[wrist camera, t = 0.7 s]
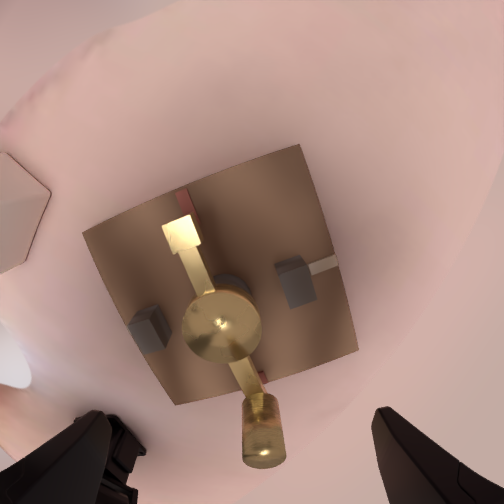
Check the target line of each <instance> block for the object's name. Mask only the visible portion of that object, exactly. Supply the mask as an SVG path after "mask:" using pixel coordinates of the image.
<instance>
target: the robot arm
mask: <svg viewBox="0 0 504 504" xmlns="http://www.w3.org/2000/svg"><path fill="white" fill-rule="evenodd" d="M371 429H372V434H373V440H374V445H375V450H376V456H377V462H378V467H379V470H380V473H381V477H382V480H383V483H384V487H385V490H386V493H387V497H388V500H389V503H390V504H504V488H503V487H500V486H499V485H497V484H495V483H493V482H491V481H489V480H487V479H486V478H484V477H482V476H480V475H479V474H477V473H476V472H474V471H473V470H471V469H470V468H468V467H467V466H466V465H465V464H463V463H462V462H460V463H459V460H458V459H456V458H455V457H454V456H452V455H451V454H450V453H448V452H447V451H445V450H444V449H443V448H442V447H440V446H439V445H438V444H437V443H435V442H434V441H433V440H431V439H430V438H429V437H427V436H426V435H425V434H424V433H422V432H421V431H420V430H418V429H417V428H416V427H415V426H413V425H412V424H411V423H410V422H408V421H407V420H406V419H404V418H403V417H402V416H401V415H399V414H398V413H397V412H396V411H394V410H393V409H392V408H391V407H388V406H386V407H381V408H378V409H377V410H376V411H375V415H374V418H373V421H372V426H371ZM145 455H146V450H145V449H144V448H143V447H142V446H141V445H140V443H139V442H138V441H137V440H136V439H135V438H134V437H133V436H132V434H131V433H130V432H129V431H128V430H127V428H126V427H125V426H124V425H123V424H122V422H121V421H120V420H119V419H118V418H117V417H116V416H115V415H107V416H105V414H104V413H103V412H102V411H98V410H91V411H90V412H88V413H87V414H85V415H84V416H83V417H81V418H76V419H75V420H74V423H73V424H71V425H70V426H69V427H67V428H66V429H64V430H63V431H62V432H60V433H59V434H57V435H56V436H54V437H53V438H52V439H50V440H49V441H47V442H46V443H44V444H43V445H41V446H40V447H39V448H37V449H36V450H34V451H33V452H31V453H30V454H28V455H27V456H25V458H22V459H21V460H19V461H18V462H16V463H15V464H13V465H12V466H10V467H8V468H7V469H5V470H3V471H1V472H0V504H137V499H138V490H137V489H135V488H131V487H129V486H127V485H126V482H127V479H128V476H129V473H132V471H133V468H134V464H135V461H136V458H137V456H145Z"/></svg>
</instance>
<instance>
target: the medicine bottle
mask: <svg viewBox="0 0 504 504" xmlns="http://www.w3.org/2000/svg"><path fill="white" fill-rule="evenodd" d="M49 198H50V192H49V190H47V189H46V188H45V187H44V186H43V185H42V184H40V183H39V182H38V181H37V180H36V179H35V178H34V177H32V176H31V175H30V174H29V173H28V172H27V171H26V170H25V169H23V168H22V167H21V166H20V165H19V164H18V163H17V162H16V161H15V160H14V159H12V158H11V157H10V156H9V155H8V154H7V153H0V274H2V273H4V272H6V271H8V270H10V269H12V268H14V267H16V266H18V265H20V264H22V263H24V262H25V260H26V257H27V254H28V251H29V248H30V245H31V242H32V240H33V237H34V234H35V232H36V229H37V226H38V224H39V221H40V219H41V216H42V214H43V212H44V209H45V207H46V205H47V202H48V200H49Z"/></svg>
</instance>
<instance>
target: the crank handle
mask: <svg viewBox="0 0 504 504" xmlns="http://www.w3.org/2000/svg"><path fill="white" fill-rule="evenodd" d="M162 229H163V231H164V234H165V236H166V239H167V241H168V243H169V246H170V248H171V250H172V253H173V254H176V253H179V255H180V258H181V260H182V262H183V265H184V267H185V269H186V271H187V274H188V276H189V278H190V280H191V283H192V285H193V287H194V289H195V292H196V294H195V295H194V296H193V297H192V299H191V300H190V302H189V304H188V307H187V309H186V312H185V314H184V317H183V320H182V334H183V337H184V340H185V342H186V344H187V345H188V347H189V348H190V349H191V350H192V351H193V352H194V353H195V354H196V355H198V356H199V357H201V358H203V359H205V360H207V361H210V362H214V363H228V364H229V366H230V368H231V370H232V372H233V374H234V376H235V378H236V380H237V381H238V383H239V385H240V387H241V389H242V391H243V393H244V395H245V397H246V398H245V399H244V401H243V403H242V458H243V462H244V463H245V464H246V465H248V466H250V467H252V468H257V469H267V468H272V467H276V466H278V465H280V464H281V463H283V462H284V461H285V459H286V451H285V444H284V438H283V431H282V424H281V418H280V411H279V405H278V401H277V399H276V398H275V397H274V396H273V395H271V394H268V393H267V392H266V390H265V388H264V385H263V383H262V381H261V379H260V377H259V375H258V373H257V371H256V368H255V366H254V364H253V362H252V360H251V358H250V356H249V355H250V354H251V353H252V352H253V351H254V350H255V349H256V347H257V346H258V344H259V342H260V339H261V334H262V327H261V319H260V312H259V308H258V305H257V303H256V302H255V300H254V299H253V297H252V296H251V295H250V294H249V293H248V292H246V291H245V290H243V289H241V288H239V287H237V286H234V285H230V284H216V283H215V281H214V278H213V276H212V274H211V271H210V269H209V266H208V264H207V262H206V259H205V257H204V255H203V252H202V250H201V247H200V244H201V243H202V242H203V240H204V237H203V235H202V232H201V230H200V227H199V225H198V222H197V220H196V217H195V215H194V212H191V213H189V214H186V215H184V216H181V217H179V218H176V219H174V220H171V221H169V222H167V223H165V224H164V225H162Z"/></svg>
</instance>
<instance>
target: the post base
mask: <svg viewBox="0 0 504 504" xmlns="http://www.w3.org/2000/svg"><path fill="white" fill-rule="evenodd" d="M191 212H194V215H195V217H196V220H197V222H198V225H199V227H200V230H201V232H202V235H203V237H204V240H203V242H202V243H201V244H200V247H201V250H202V252H203V255H204V257H205V259H206V262H207V264H208V266H209V269H210V271H211V274H212V276H213V278H214V281H215V283H216V284H230V285H234V286H237V287H239V288H241V289H243V290H245V291H246V292H248V293H249V294H250V295H251V296H252V297H253V299H254V300H255V302H256V303H257V305H258V308H259V312H260V319H261V327H262V334H261V339H260V342H259V344H258V346H257V347H256V349H255V350H254V351H253V352H252V353H251V354H250V355H249V356H250V358H251V360H252V362H253V364H254V366H255V368H256V371H257V373H258V375H259V377H260V379H261V381H262V383H263V384H266V383H268V382H271V381H274V380H277V379H280V378H283V377H287V376H290V375H293V374H296V373H299V372H302V371H305V370H307V369H310V368H313V367H316V366H319V365H321V364H324V363H327V362H330V361H332V360H335V359H337V358H340V357H343V356H345V355H348V354H350V353H353V352H355V351H358V350H359V348H358V344H357V339H356V335H355V330H354V326H353V321H352V317H351V313H350V309H349V305H348V301H347V297H346V293H345V289H344V285H343V281H342V278H341V274H340V270H339V266H338V265H339V264H338V261H337V257H336V254H335V252H334V249H333V245H332V242H331V238H330V235H329V232H328V228H327V225H326V222H325V218H324V215H323V212H322V209H321V206H320V203H319V199H318V196H317V193H316V190H315V187H314V184H313V181H312V178H311V175H310V172H309V170H308V167H307V164H306V161H305V158H304V155H303V152H302V150H301V147H300V144H298V145H295V146H292V147H288V148H285V149H282V150H279V151H276V152H273V153H270V154H267V155H264V156H262V157H259V158H256V159H253V160H250V161H247V162H245V163H242V164H239V165H236V166H234V167H231V168H228V169H226V170H223V171H220V172H218V173H215V174H212V175H210V176H207V177H205V178H202V179H200V180H197V181H195V182H192V183H190V184H187V185H185V186H182V187H180V188H178V189H175V190H173V191H170V192H168V193H166V194H163V195H161V196H159V197H156V198H154V199H152V200H150V201H147V202H145V203H143V204H141V205H138V206H136V207H134V208H132V209H130V210H128V211H125V212H123V213H121V214H119V215H117V216H115V217H113V218H111V219H109V220H107V221H104V222H102V223H100V224H98V225H96V226H94V227H92V228H90V229H88V230H86V231H84V232H82V234H83V236H84V239H85V241H86V244H87V246H88V248H89V251H90V253H91V255H92V258H93V260H94V262H95V264H96V267H97V269H98V271H99V273H100V275H101V277H102V280H103V282H104V284H105V286H106V288H107V290H108V292H109V294H110V296H111V298H112V300H113V302H114V304H115V306H116V308H117V310H118V312H119V314H120V316H121V317H122V319H123V321H124V323H125V325H126V327H127V329H128V331H129V333H130V335H131V336H132V338H133V339H134V341H135V343H136V344H137V346H138V348H139V350H140V351H141V353H142V355H143V356H144V358H145V360H146V361H147V363H148V365H149V366H150V368H151V369H152V371H153V373H154V374H155V376H156V377H157V379H158V380H159V382H160V384H161V385H162V387H163V388H164V390H165V391H166V393H167V394H168V396H169V397H170V399H171V400H172V401H173V403H174V404H175V405H179V404H184V403H189V402H194V401H198V400H203V399H207V398H212V397H216V396H220V395H224V394H228V393H232V392H235V391H239V390H242V389H241V387H240V385H239V383H238V381H237V380H236V378H235V376H234V374H233V372H232V370H231V368H230V366H229V364H228V363H214V362H210V361H207V360H205V359H203V358H201V357H199V356H198V355H196V354H195V353H194V352H193V351H192V350H191V349H190V348H189V347H188V345H187V344H186V342H185V340H184V337H183V334H182V320H183V317H184V314H185V312H186V309H187V307H188V304H189V302H190V300H191V299H192V297H193V296H194V295H195V294H196V292H195V289H194V287H193V285H192V283H191V280H190V278H189V276H188V274H187V271H186V269H185V267H184V265H183V262H182V260H181V258H180V255H179V253H176V254H173V253H172V250H171V248H170V246H169V243H168V241H167V239H166V236H165V234H164V231H163V229H162V225H164V224H165V223H167V222H169V221H171V220H174V219H176V218H179V217H181V216H184V215H186V214H189V213H191Z"/></svg>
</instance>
